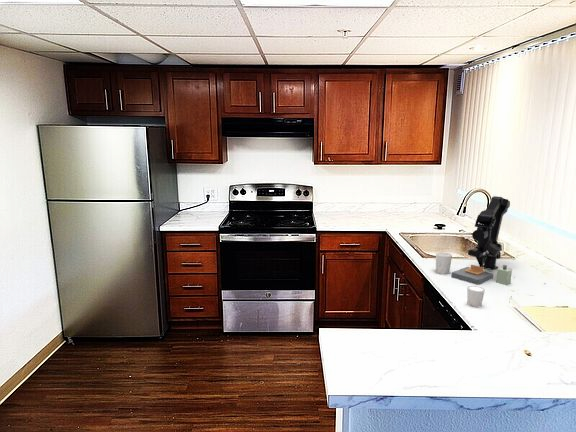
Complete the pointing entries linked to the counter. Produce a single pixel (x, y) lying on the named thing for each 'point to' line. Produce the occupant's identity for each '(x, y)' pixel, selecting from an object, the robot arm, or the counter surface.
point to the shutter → (475, 270)
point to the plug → (504, 275)
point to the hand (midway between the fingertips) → (481, 266)
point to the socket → (472, 276)
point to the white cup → (443, 262)
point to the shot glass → (475, 295)
